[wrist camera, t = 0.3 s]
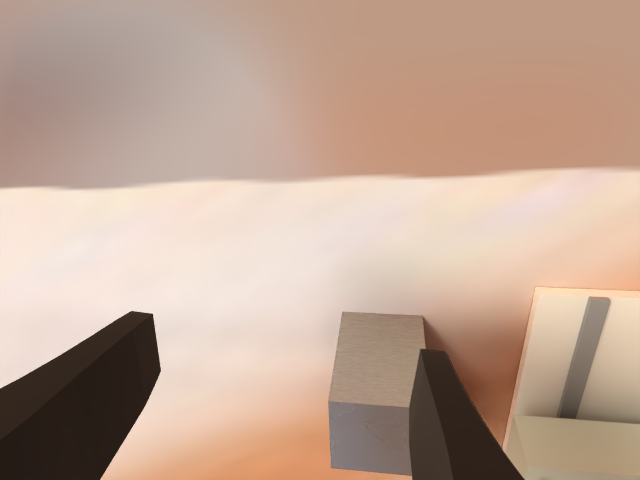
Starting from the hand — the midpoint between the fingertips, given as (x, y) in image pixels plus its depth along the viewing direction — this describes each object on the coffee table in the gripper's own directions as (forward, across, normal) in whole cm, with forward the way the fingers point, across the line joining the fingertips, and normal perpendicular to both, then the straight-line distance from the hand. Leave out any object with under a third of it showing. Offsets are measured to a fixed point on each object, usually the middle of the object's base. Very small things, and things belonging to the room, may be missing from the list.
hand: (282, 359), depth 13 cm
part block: (+10, -3, +7) cm, 13 cm away
